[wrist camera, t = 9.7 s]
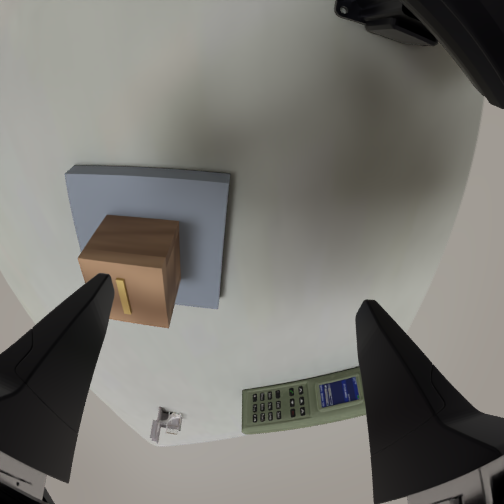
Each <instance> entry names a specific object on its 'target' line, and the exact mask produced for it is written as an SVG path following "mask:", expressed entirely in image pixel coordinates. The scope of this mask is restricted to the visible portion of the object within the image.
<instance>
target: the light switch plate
mask: <svg viewBox="0 0 504 504" xmlns="http://www.w3.org/2000/svg"><path fill="white" fill-rule="evenodd" d="M65 179H66V185H67V191H68V196H69V201H70V206H71V211H72V216H73V220H74V225H75V229H76V233H77V237H78V241H79V245H80V249H81V252H82V251H83V249H84V247H85V246H86V244H87V243H88V241H89V240H90V238H91V237H92V235H93V234H94V232H95V231H96V229H97V228H98V226H99V225H100V224H101V222H102V221H103V219H104V218H105V216H106V215H117V216H130V217H141V218H153V219H164V220H175V221H179V241H180V270H181V281H180V285H179V289H178V293H177V297H176V301H175V304H177V305H185V306H193V307H202V308H211V309H218V305H219V297H220V284H221V271H222V259H223V247H224V235H225V224H226V214H227V203H228V193H229V183H230V174H225V173H215V172H204V171H192V170H179V169H165V168H147V167H125V166H78V165H74V166H73V167H72V168H71V169H70V170H69V171H67V172H66V173H65Z"/></svg>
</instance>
